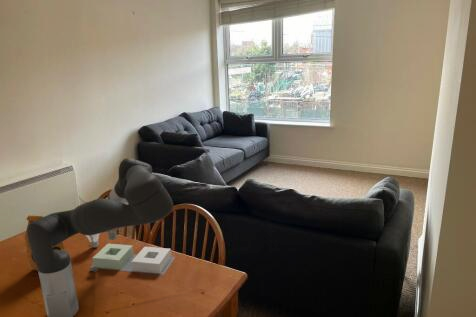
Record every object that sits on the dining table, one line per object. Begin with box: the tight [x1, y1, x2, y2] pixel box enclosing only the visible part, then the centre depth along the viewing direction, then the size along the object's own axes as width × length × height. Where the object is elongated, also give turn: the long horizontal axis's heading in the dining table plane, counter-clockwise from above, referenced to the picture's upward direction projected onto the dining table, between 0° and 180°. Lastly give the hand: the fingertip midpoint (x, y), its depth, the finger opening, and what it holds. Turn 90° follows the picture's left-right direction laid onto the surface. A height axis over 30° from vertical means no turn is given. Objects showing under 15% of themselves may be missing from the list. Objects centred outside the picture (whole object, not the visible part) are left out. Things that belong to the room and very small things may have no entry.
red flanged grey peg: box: [105, 228, 120, 241], centre depth 140 cm, size 6×6×14 cm
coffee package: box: [24, 215, 66, 272], centre depth 140 cm, size 10×12×22 cm
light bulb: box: [85, 233, 101, 249], centre depth 156 cm, size 7×7×12 cm
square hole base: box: [89, 243, 176, 276], centre depth 142 cm, size 30×12×6 cm, turn 78°
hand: (107, 218), depth 141 cm, fingers closed on red flanged grey peg, 3 cm apart
